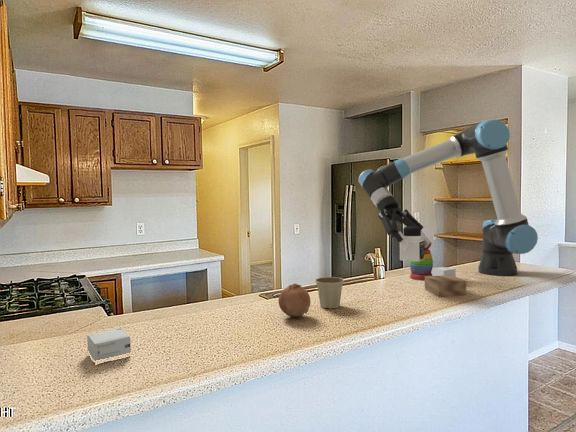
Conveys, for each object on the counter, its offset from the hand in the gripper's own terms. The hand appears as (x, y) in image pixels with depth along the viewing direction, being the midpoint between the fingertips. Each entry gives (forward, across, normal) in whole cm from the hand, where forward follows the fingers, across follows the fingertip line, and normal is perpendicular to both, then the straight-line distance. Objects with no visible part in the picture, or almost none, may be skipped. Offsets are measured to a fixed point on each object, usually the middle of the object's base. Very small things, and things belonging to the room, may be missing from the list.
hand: (417, 246), depth 144 cm
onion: (+11, +51, -13) cm, 54 cm away
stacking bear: (0, -21, -24) cm, 32 cm away
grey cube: (+9, -19, -15) cm, 26 cm away
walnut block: (+15, -8, -8) cm, 19 cm away
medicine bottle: (+2, 0, -6) cm, 6 cm away
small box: (+10, +102, -13) cm, 103 cm away
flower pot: (+8, +36, -15) cm, 40 cm away
